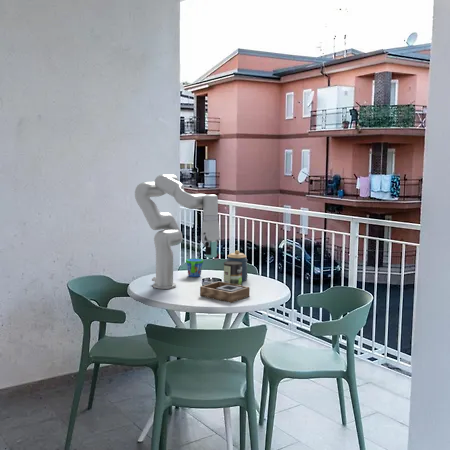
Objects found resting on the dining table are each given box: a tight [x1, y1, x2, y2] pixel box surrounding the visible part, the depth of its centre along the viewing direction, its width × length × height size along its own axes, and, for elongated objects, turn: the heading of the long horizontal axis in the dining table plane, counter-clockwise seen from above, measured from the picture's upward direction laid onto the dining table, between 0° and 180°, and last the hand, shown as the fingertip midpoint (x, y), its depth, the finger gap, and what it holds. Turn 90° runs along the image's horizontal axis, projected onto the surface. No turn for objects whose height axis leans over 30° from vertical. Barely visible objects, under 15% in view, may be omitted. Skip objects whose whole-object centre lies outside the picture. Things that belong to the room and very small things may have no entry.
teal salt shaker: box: [205, 240, 218, 259], centre depth 264 cm, size 4×4×9 cm
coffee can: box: [223, 261, 243, 286], centre depth 284 cm, size 10×10×14 cm
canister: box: [225, 249, 249, 282], centre depth 304 cm, size 13×13×18 cm
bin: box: [199, 281, 250, 304], centre depth 266 cm, size 20×16×5 cm
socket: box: [216, 285, 243, 292], centre depth 264 cm, size 10×10×4 cm
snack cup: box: [185, 257, 204, 278], centre depth 311 cm, size 16×10×10 cm
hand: (211, 253), depth 265 cm, fingers closed on teal salt shaker, 4 cm apart
